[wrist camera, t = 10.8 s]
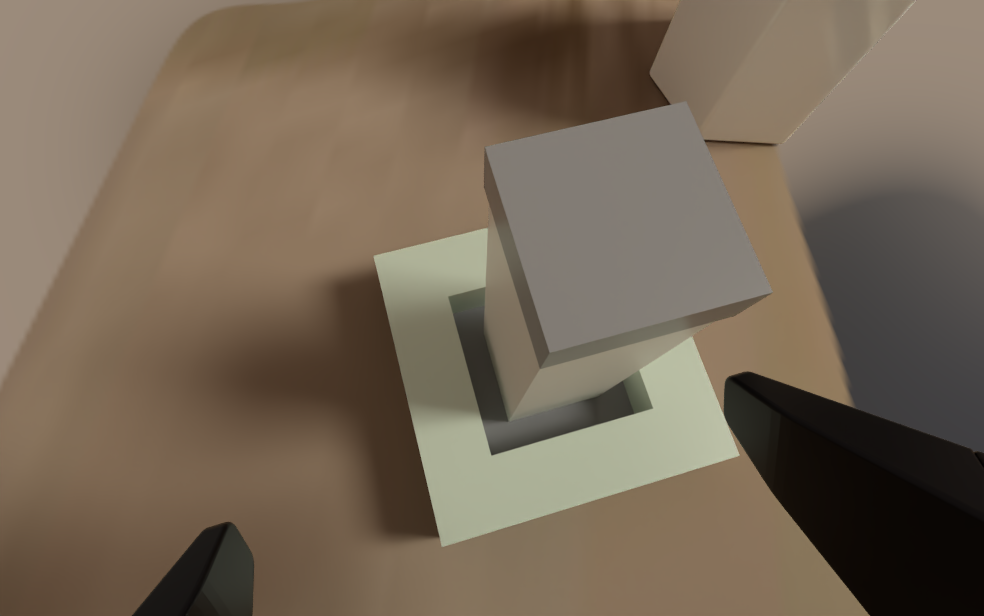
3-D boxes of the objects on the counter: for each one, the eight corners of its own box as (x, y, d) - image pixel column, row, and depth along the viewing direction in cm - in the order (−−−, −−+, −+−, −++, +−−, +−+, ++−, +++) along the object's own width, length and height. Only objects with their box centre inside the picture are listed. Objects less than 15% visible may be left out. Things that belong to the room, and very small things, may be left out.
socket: (707, 457, 23) (739, 455, 20) (446, 537, 22) (442, 546, 19) (616, 222, 26) (633, 191, 23) (385, 280, 25) (373, 255, 22)
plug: (601, 398, 23) (772, 292, 10) (506, 424, 23) (549, 352, 9) (570, 307, 24) (686, 101, 11) (480, 331, 24) (484, 147, 10)
